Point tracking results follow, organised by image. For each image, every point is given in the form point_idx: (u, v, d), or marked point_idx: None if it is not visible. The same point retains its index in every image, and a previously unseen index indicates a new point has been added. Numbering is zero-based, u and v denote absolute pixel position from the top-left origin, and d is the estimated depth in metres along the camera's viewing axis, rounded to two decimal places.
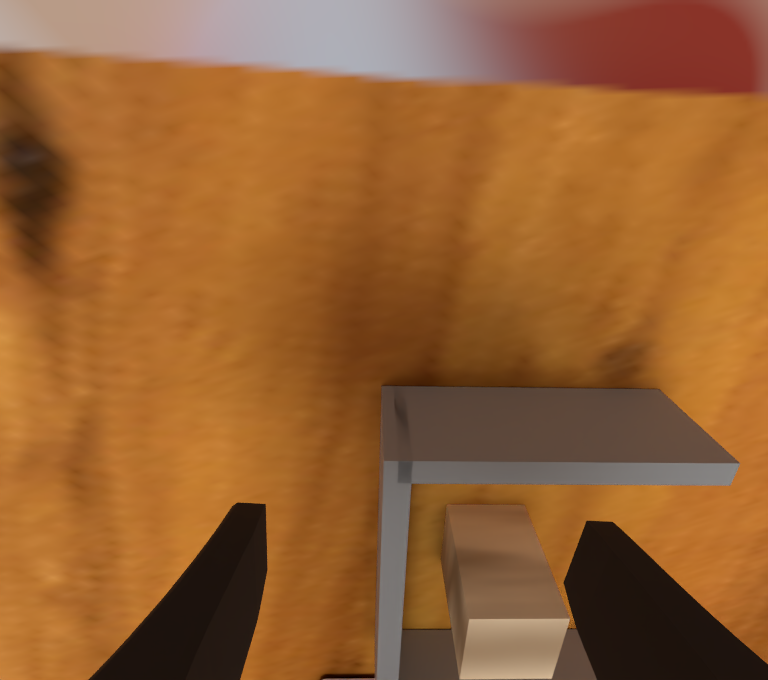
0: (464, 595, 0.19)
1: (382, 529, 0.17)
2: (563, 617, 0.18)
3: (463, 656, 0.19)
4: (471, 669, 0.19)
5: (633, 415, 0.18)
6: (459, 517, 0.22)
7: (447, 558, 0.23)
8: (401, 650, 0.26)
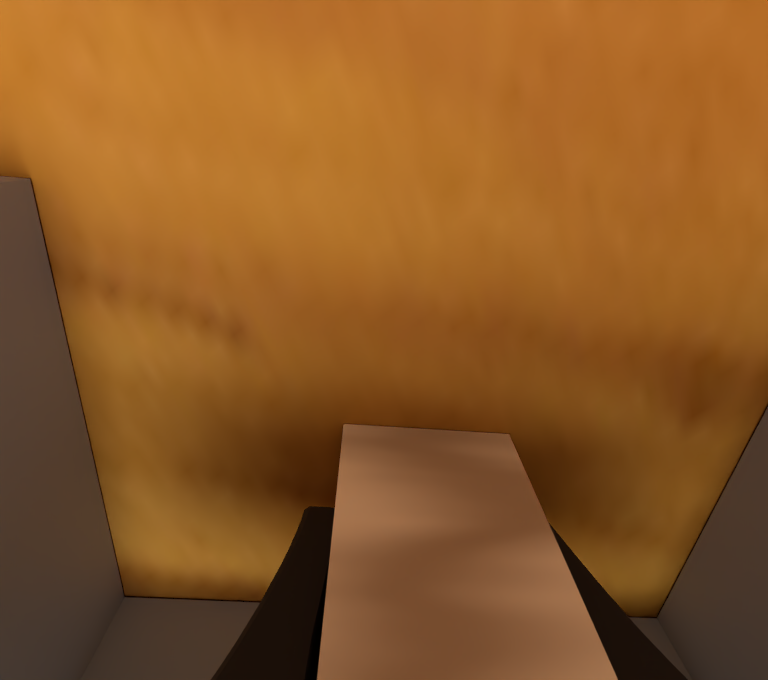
0: None
1: None
2: None
3: None
4: None
5: None
6: None
7: None
8: (687, 647, 0.13)
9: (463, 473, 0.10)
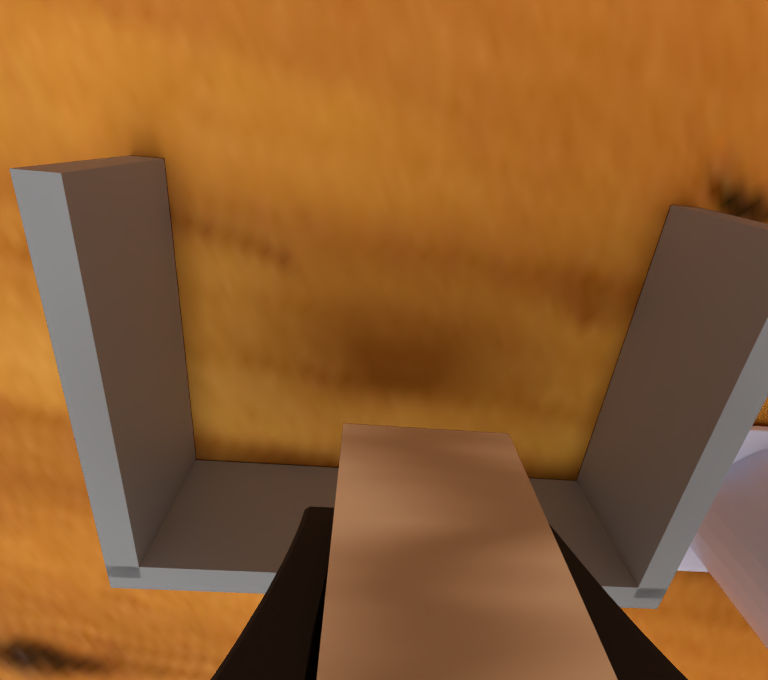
0: None
1: (216, 589, 0.15)
2: None
3: None
4: None
5: None
6: None
7: None
8: (592, 491, 0.18)
9: (463, 472, 0.10)
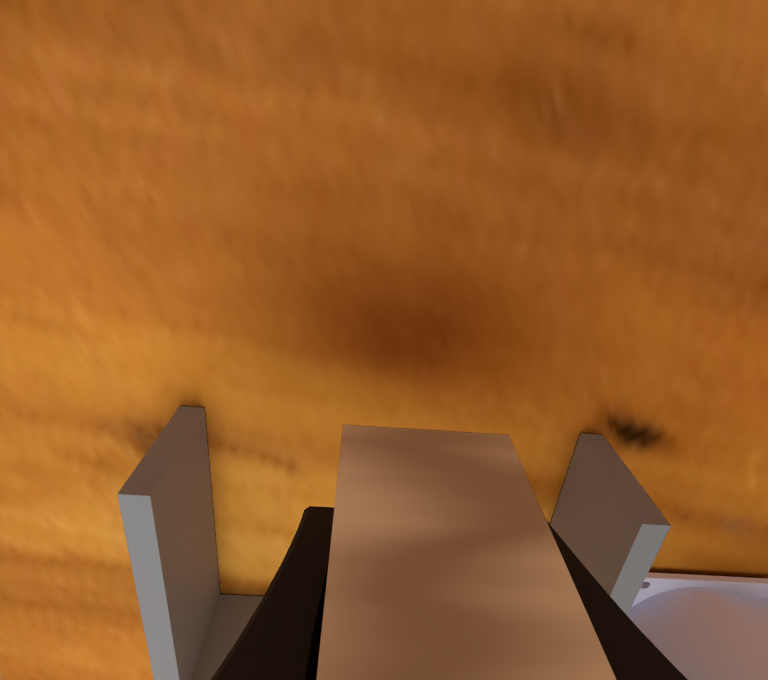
0: None
1: None
2: None
3: None
4: None
5: None
6: None
7: None
8: None
9: (462, 474, 0.10)
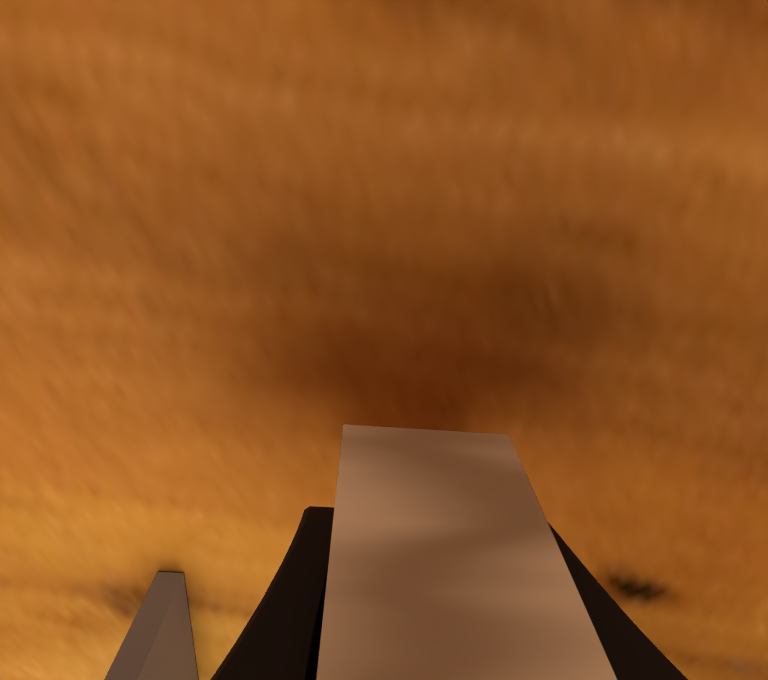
0: None
1: None
2: None
3: None
4: None
5: None
6: None
7: None
8: None
9: (463, 474, 0.10)
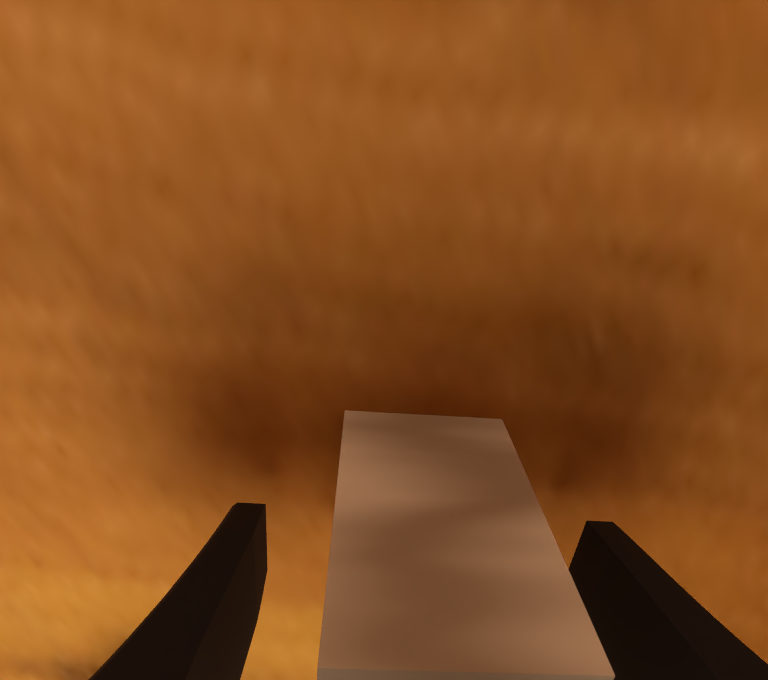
0: None
1: None
2: None
3: None
4: None
5: None
6: None
7: None
8: None
9: (457, 454, 0.10)
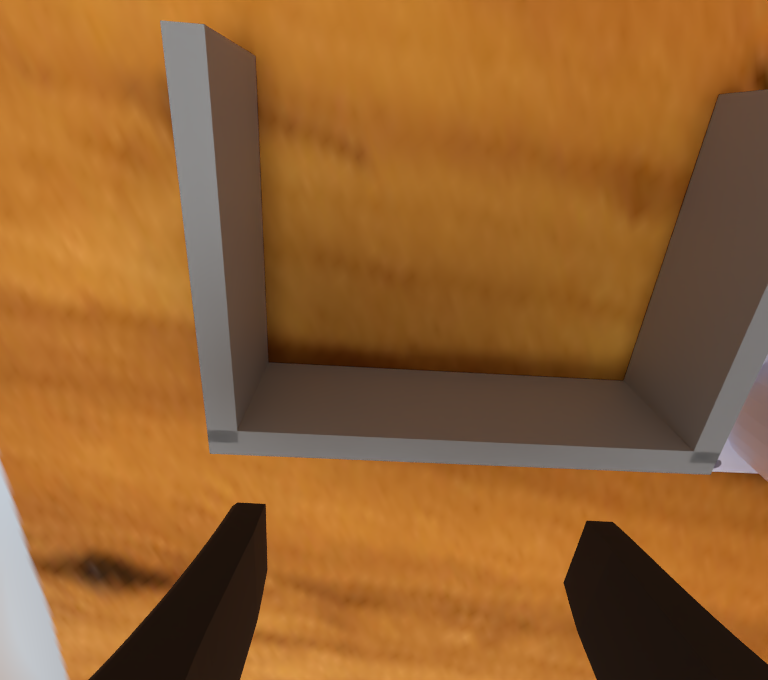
0: None
1: (304, 455, 0.16)
2: None
3: None
4: None
5: None
6: None
7: None
8: (641, 383, 0.19)
9: None
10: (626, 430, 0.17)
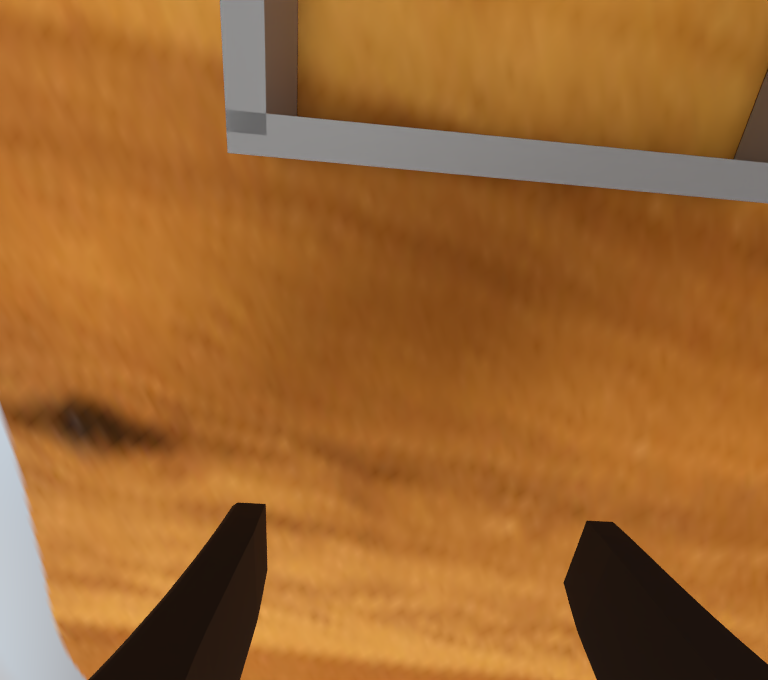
0: None
1: (354, 163, 0.12)
2: None
3: None
4: None
5: None
6: None
7: None
8: (765, 146, 0.15)
9: None
10: None
